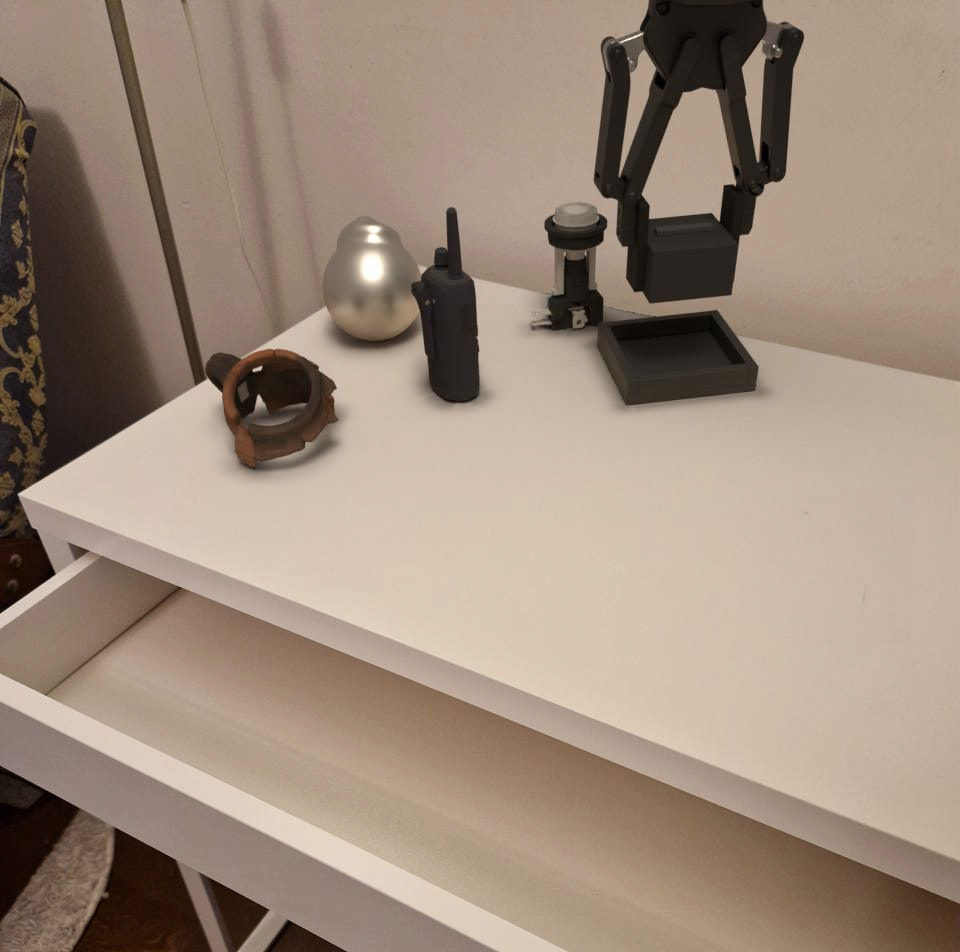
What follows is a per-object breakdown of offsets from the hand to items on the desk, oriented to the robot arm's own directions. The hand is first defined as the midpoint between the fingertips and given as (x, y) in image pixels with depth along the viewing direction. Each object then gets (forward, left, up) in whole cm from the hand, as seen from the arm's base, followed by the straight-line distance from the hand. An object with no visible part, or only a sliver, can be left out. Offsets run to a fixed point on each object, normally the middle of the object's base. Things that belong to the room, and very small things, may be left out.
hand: (679, 279), depth 79 cm
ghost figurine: (+24, -12, -8) cm, 28 cm away
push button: (+7, -10, -8) cm, 14 cm away
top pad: (0, 0, 0) cm, 0 cm away
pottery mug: (+33, +4, -8) cm, 34 cm away
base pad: (0, 0, -7) cm, 7 cm away
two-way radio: (+19, 0, -8) cm, 20 cm away
